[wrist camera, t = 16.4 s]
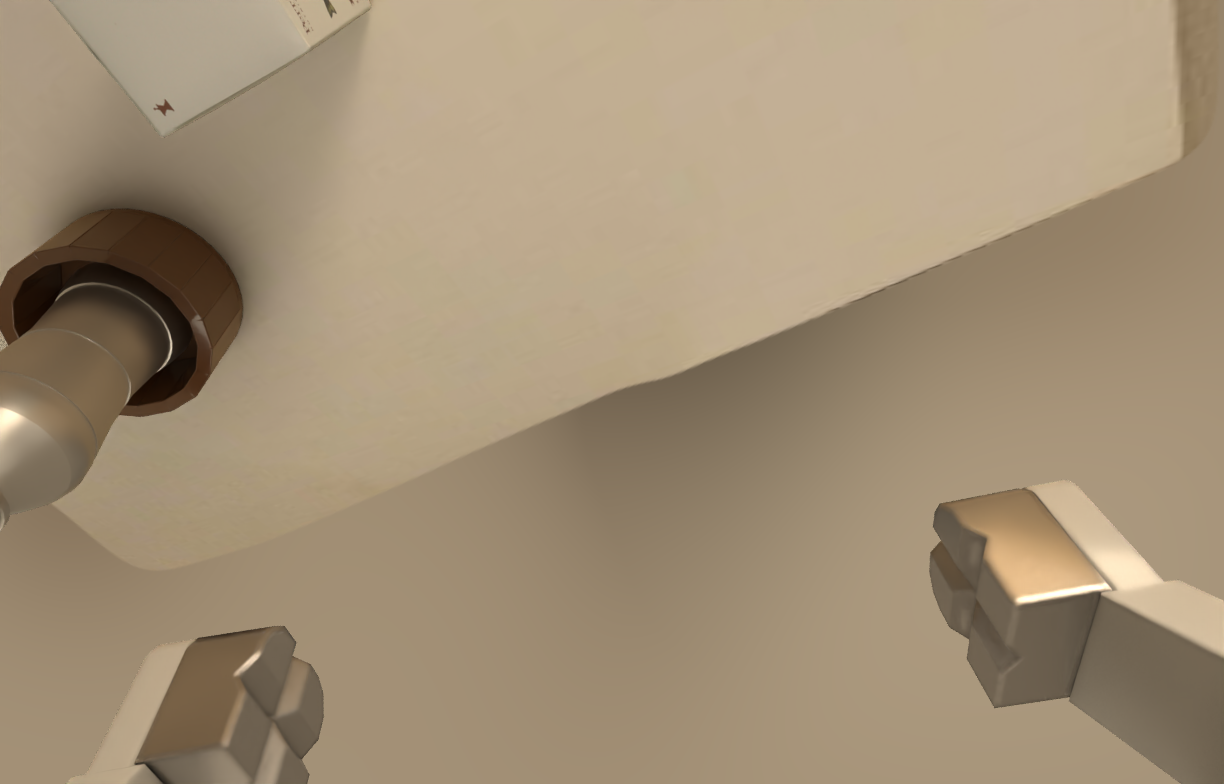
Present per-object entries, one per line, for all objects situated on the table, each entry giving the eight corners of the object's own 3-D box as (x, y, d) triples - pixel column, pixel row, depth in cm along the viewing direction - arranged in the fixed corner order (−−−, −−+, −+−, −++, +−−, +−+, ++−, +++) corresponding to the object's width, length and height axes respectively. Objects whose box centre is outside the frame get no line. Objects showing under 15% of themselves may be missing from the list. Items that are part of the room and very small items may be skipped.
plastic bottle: (158, 359, 48) (-41, 613, 31) (61, 278, 44) (-220, 516, 28) (232, 308, 46) (63, 547, 30) (138, 220, 43) (-112, 435, 26)
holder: (11, 227, 43) (-51, 268, 38) (193, 191, 43) (152, 229, 38) (111, 380, 49) (68, 431, 44) (272, 349, 49) (245, 397, 44)
